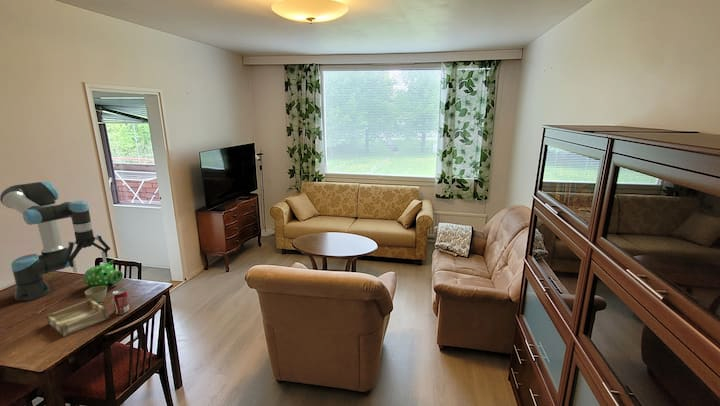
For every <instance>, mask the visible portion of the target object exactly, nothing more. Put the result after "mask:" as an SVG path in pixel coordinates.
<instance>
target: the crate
mask: <svg viewBox="0 0 720 406" xmlns="http://www.w3.org/2000/svg"><path fill="white" fill-rule="evenodd" d="M109 318H110V317H109V310H108V308H107V307H104V306H103V305H101V304H100V303H96V302H95V301H93V300H92V299H91V298H90V299H88V298H87V299H86V300H85V301H82V302H79V303H76V304H74V305H71V306H68V307H66V308H62V309H60V310H57V311H55V312H50V313H47V314H46V319H47V324H48V325H49V326H50V327H52V329H54V330H55V331H56V332H57V333H59V334H60V335H61V336H62V337H63V338H65V337H67V336H69V335H72V334H74V333H78V331H81V330H83V329H86V328H88V327H90V326H93V325H95V324H97V323H100V322H102V321H104V320H105V321H106V320H107V319H109Z"/></svg>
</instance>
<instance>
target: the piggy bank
mask: <svg viewBox="0 0 720 406" xmlns="http://www.w3.org/2000/svg"><path fill="white" fill-rule="evenodd" d="M113 264H114V259H111V260H110V261H107V264H105V263H103V264H100V265H95V266H92V267H90V268H88V269H87V270H86V271H85V273H84V276H83V279H84V283H85V284H86V285H87V286H88V287H89V288H88V289H90V288H93V287H97V286H106V287H107V289H108V288H109V286H112V285H115V284H117V283H118V282H121V280H122V279H123V277H124V274H123V272H122V270H116V268H115V267H114V266H113Z"/></svg>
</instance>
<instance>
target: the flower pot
mask: <svg viewBox="0 0 720 406" xmlns="http://www.w3.org/2000/svg"><path fill="white" fill-rule="evenodd" d="M107 291H108V288H107V287H106V286H97V287H93V288H88V289H86V290H85V291H84V294H85V298H87V300H88V299H90V298H91V299H92V300H93V301H95V302H96V303H98V304H100V303H102V302H103V301H104V300H105V298H106V296H107Z"/></svg>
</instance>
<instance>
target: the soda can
mask: <svg viewBox="0 0 720 406" xmlns="http://www.w3.org/2000/svg"><path fill="white" fill-rule="evenodd" d="M111 302H112V307H113V313H114V314H115V315H123V314H125V313H127V312H128V311H130V304H129V297H128V293H127V291H125V289H123V288H121V289H116V290H113V291H112V294H111Z"/></svg>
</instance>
